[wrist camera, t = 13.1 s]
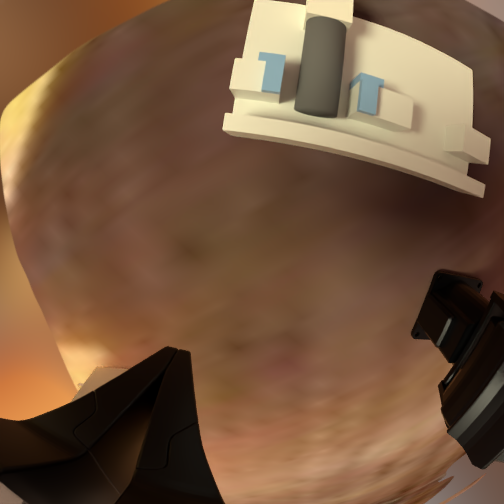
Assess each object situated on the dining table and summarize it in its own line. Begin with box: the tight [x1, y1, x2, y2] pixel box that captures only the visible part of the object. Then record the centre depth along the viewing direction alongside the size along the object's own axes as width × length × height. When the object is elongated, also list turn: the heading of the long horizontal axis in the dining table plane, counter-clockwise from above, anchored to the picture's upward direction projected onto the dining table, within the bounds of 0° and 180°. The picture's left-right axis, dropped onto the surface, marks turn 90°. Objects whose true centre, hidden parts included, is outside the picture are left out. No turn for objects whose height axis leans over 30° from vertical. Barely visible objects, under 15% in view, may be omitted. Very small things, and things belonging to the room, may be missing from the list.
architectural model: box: [71, 367, 128, 402], centre depth 23 cm, size 3×7×7 cm, turn 100°
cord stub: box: [294, 0, 353, 118], centre depth 13 cm, size 3×10×3 cm, turn 171°
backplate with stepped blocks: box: [223, 0, 491, 198], centre depth 14 cm, size 18×11×4 cm, turn 81°
